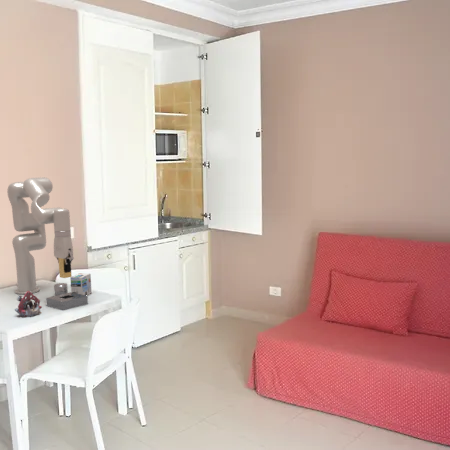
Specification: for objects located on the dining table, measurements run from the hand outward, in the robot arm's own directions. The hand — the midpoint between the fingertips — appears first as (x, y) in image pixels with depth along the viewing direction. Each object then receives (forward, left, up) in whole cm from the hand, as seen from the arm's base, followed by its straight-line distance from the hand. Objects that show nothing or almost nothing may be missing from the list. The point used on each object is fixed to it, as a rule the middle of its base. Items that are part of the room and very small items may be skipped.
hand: (65, 271), depth 269 cm
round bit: (-19, +9, -17) cm, 27 cm away
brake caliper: (0, -20, -17) cm, 26 cm away
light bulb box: (-11, +16, -17) cm, 26 cm away
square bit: (0, 0, -3) cm, 3 cm away
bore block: (0, 0, -17) cm, 17 cm away
